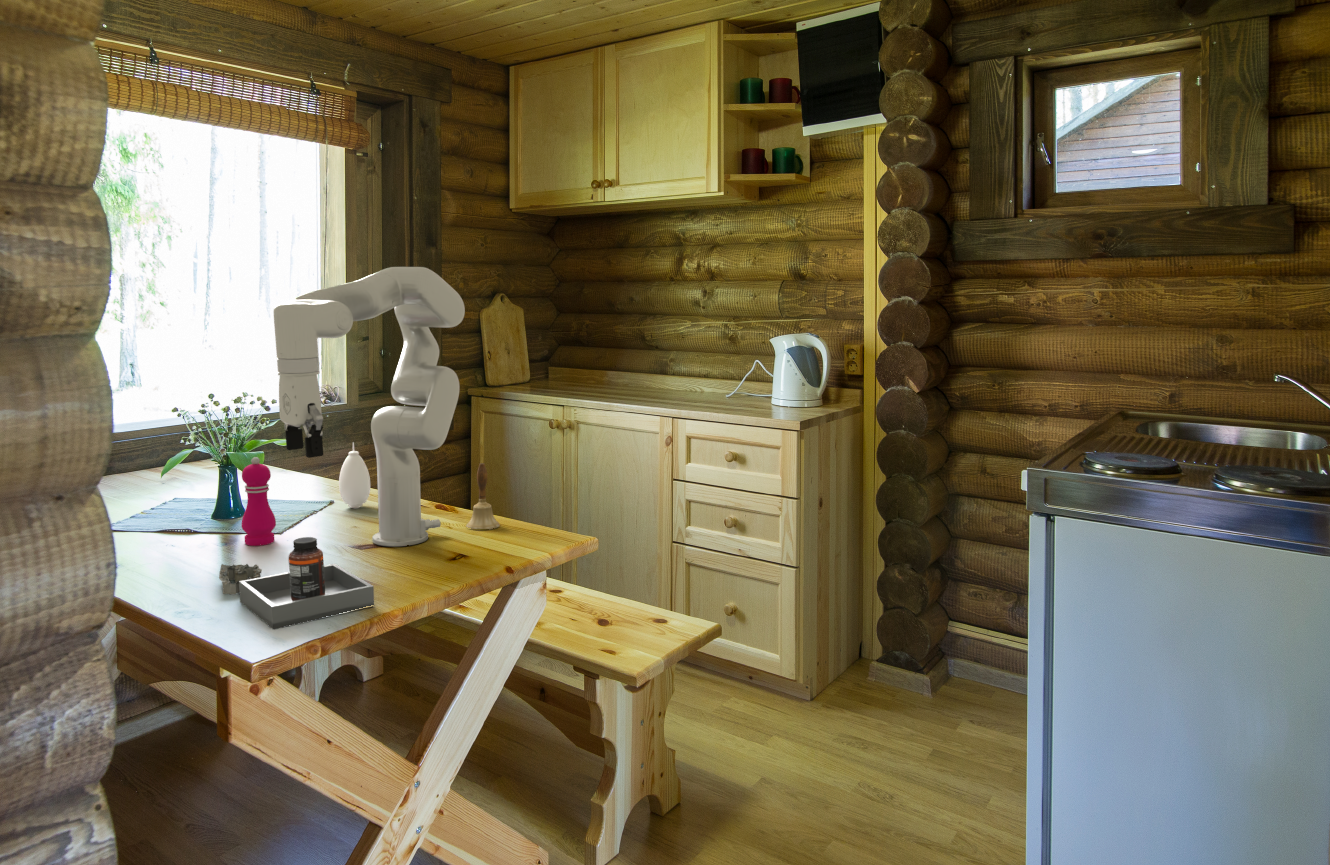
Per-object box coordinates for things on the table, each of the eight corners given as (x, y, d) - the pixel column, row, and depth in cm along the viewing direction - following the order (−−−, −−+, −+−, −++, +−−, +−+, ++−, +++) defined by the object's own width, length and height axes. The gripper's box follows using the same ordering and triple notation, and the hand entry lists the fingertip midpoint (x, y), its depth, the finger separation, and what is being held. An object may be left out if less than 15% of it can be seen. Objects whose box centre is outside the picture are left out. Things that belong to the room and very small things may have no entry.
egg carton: (262, 593, 172) (261, 572, 171) (219, 598, 169) (217, 577, 168) (262, 577, 182) (261, 557, 181) (221, 581, 179) (220, 561, 178)
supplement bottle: (315, 591, 169) (313, 533, 168) (331, 598, 165) (329, 539, 164) (284, 599, 165) (282, 539, 163) (300, 606, 161) (297, 545, 159)
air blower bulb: (376, 507, 242) (374, 441, 240) (353, 512, 236) (350, 445, 233) (357, 503, 247) (355, 438, 244) (333, 508, 240) (331, 442, 237)
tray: (336, 583, 178) (335, 563, 177) (374, 606, 164) (373, 586, 164) (240, 602, 166) (239, 581, 165) (272, 629, 153) (271, 607, 152)
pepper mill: (263, 547, 202) (259, 460, 199) (235, 545, 203) (230, 459, 200) (283, 539, 209) (279, 455, 206) (255, 537, 210) (251, 453, 207)
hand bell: (460, 525, 224) (459, 463, 222) (489, 520, 230) (488, 459, 227) (475, 532, 218) (474, 468, 216) (505, 527, 223) (505, 464, 221)
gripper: (262, 364, 177) (269, 448, 181) (296, 372, 165) (303, 462, 168) (300, 361, 182) (306, 444, 186) (336, 369, 170) (341, 456, 173)
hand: (304, 452), depth 177 cm, fingers open, 9 cm apart
